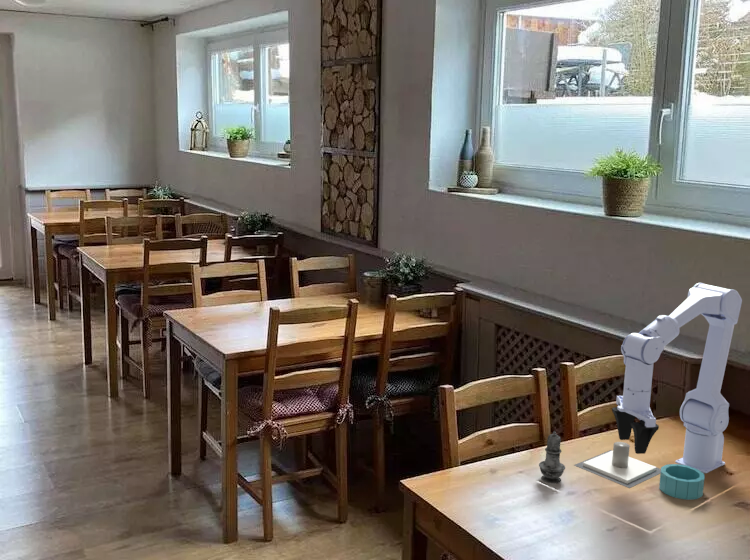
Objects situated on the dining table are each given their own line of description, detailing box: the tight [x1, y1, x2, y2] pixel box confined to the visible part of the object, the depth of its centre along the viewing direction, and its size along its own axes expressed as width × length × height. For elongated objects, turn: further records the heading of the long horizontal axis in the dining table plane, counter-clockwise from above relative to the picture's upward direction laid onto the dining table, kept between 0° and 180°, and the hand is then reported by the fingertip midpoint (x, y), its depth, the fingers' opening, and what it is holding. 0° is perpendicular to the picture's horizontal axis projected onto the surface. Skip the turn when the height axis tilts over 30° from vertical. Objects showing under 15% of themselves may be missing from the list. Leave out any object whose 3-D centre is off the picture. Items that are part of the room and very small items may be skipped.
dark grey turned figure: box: [538, 430, 566, 486], centre depth 180 cm, size 6×6×12 cm
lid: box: [582, 441, 658, 484], centre depth 187 cm, size 12×12×6 cm
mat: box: [573, 449, 661, 489], centre depth 188 cm, size 15×15×1 cm
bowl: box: [658, 463, 706, 501], centre depth 177 cm, size 9×9×4 cm
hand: (632, 446), depth 177 cm, fingers open, 7 cm apart
